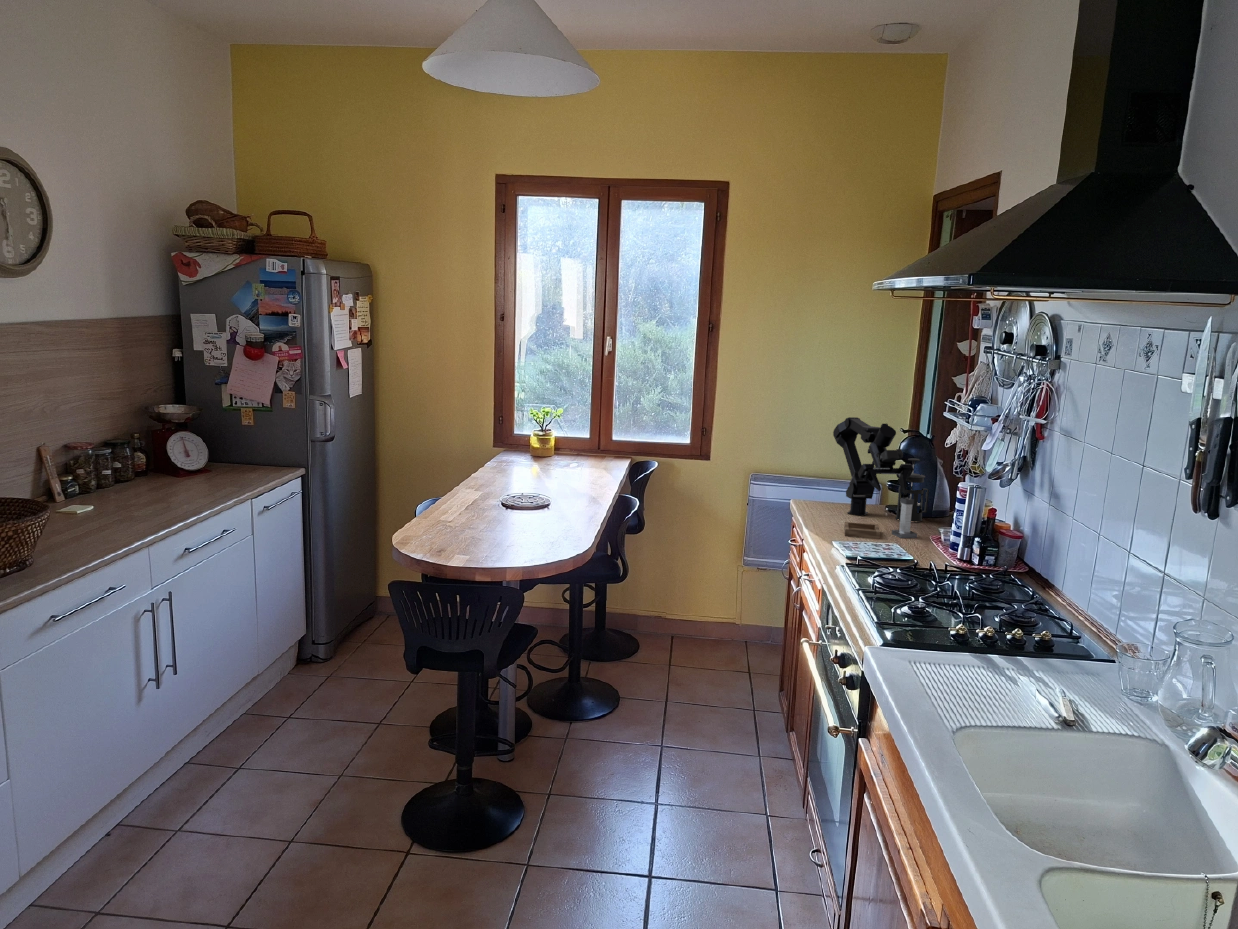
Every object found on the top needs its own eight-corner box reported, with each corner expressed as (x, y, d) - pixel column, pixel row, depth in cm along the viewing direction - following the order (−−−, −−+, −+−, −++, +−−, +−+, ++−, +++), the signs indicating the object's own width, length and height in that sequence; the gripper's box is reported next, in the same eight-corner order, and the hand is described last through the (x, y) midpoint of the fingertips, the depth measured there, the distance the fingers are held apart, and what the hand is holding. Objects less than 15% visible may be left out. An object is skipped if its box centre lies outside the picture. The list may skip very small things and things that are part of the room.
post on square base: (900, 538, 294) (903, 500, 292) (891, 534, 300) (894, 497, 298) (916, 538, 295) (920, 500, 293) (907, 533, 301) (910, 496, 299)
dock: (844, 528, 306) (844, 521, 305) (877, 531, 303) (878, 524, 303) (844, 536, 295) (845, 529, 294) (879, 538, 292) (880, 531, 292)
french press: (899, 522, 319) (905, 460, 315) (889, 516, 328) (894, 456, 324) (930, 522, 320) (936, 461, 316) (920, 517, 329) (925, 457, 325)
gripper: (863, 440, 305) (875, 476, 295) (913, 441, 308) (926, 476, 298) (852, 460, 314) (864, 495, 304) (901, 461, 317) (914, 495, 307)
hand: (892, 490), depth 303 cm, fingers open, 9 cm apart
